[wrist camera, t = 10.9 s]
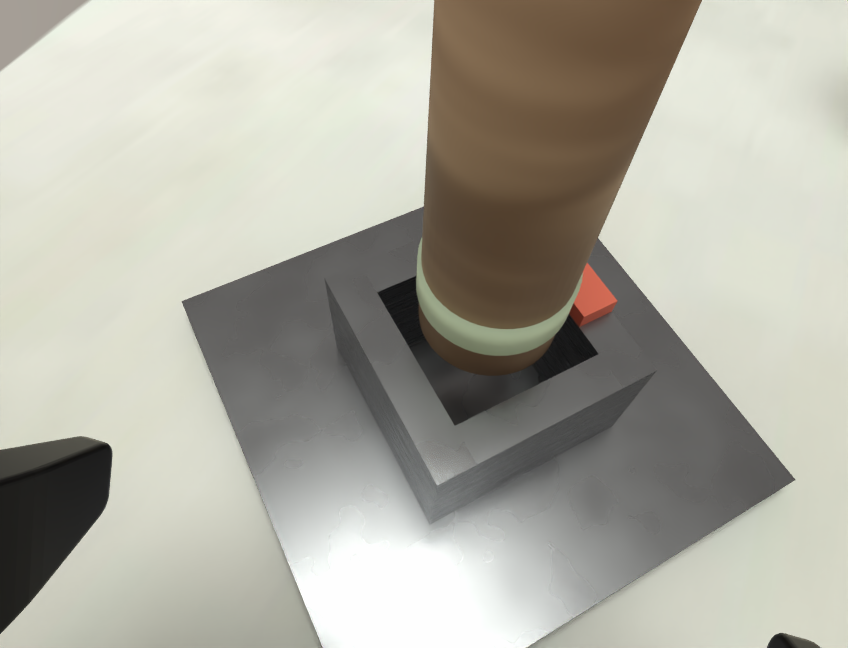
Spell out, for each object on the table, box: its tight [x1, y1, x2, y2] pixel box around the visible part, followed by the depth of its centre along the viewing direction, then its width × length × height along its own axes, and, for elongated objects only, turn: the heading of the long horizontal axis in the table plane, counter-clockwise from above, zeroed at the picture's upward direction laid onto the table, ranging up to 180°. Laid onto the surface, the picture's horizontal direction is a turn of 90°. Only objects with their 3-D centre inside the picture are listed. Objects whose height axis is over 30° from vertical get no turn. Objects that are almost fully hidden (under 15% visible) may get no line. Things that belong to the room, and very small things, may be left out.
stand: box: [182, 207, 795, 648], centre depth 21 cm, size 16×16×6 cm
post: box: [416, 0, 702, 376], centre depth 12 cm, size 4×4×14 cm
